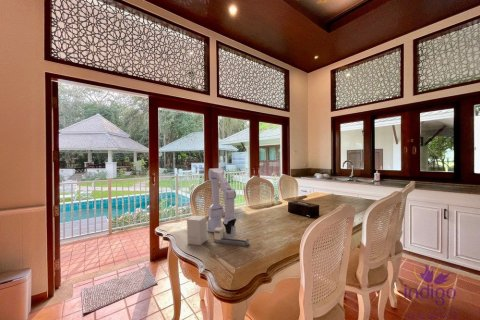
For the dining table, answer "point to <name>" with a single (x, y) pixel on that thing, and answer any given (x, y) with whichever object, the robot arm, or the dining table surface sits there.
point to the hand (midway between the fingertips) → (230, 232)
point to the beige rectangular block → (218, 233)
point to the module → (233, 232)
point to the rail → (233, 241)
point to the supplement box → (197, 230)
